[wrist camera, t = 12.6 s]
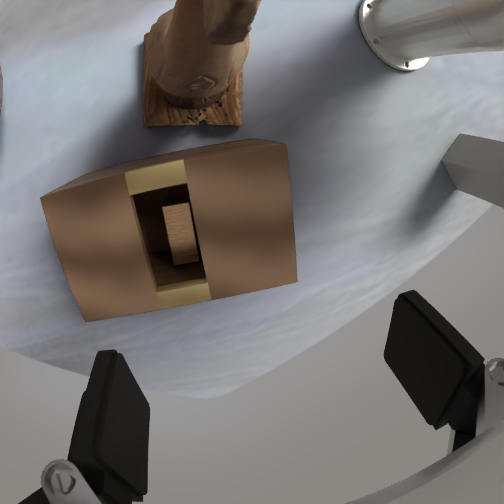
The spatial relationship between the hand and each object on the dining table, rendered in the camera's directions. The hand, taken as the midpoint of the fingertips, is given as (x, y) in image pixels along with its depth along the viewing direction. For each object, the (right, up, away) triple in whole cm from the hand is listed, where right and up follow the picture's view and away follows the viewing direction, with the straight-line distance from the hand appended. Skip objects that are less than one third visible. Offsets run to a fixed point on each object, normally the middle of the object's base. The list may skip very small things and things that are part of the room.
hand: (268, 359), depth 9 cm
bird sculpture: (-7, +22, +19) cm, 31 cm away
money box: (-9, +9, +24) cm, 28 cm away
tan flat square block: (-8, +4, +23) cm, 24 cm away
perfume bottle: (+33, +18, +30) cm, 48 cm away
